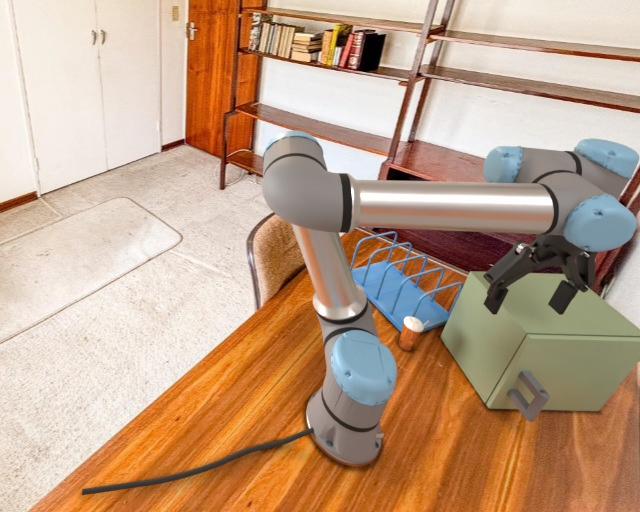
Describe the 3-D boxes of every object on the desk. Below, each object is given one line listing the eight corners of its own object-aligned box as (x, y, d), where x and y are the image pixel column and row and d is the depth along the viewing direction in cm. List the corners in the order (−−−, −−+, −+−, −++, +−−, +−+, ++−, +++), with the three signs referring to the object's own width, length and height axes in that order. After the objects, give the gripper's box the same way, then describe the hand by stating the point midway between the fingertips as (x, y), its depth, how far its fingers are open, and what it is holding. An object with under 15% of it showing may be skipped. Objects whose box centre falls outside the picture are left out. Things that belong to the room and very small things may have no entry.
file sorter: (344, 275, 128) (354, 237, 121) (385, 264, 134) (397, 227, 127) (406, 338, 107) (423, 296, 100) (452, 322, 112) (471, 281, 106)
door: (624, 439, 85) (687, 368, 75) (507, 436, 85) (555, 365, 75) (594, 407, 92) (649, 337, 81) (485, 404, 91) (527, 334, 81)
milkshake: (420, 355, 102) (432, 328, 98) (398, 351, 103) (409, 324, 99) (414, 340, 106) (425, 313, 102) (393, 336, 107) (403, 310, 103)
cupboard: (593, 406, 92) (648, 336, 82) (484, 403, 92) (526, 332, 81) (532, 339, 108) (571, 274, 98) (439, 337, 108) (470, 271, 98)
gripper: (517, 235, 67) (475, 324, 76) (659, 236, 68) (600, 324, 77) (486, 210, 74) (450, 295, 83) (615, 211, 74) (565, 295, 83)
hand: (522, 309), depth 80 cm, fingers open, 13 cm apart
